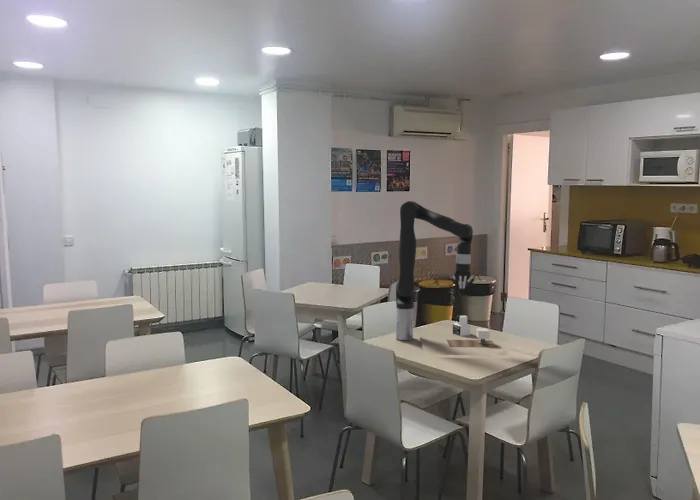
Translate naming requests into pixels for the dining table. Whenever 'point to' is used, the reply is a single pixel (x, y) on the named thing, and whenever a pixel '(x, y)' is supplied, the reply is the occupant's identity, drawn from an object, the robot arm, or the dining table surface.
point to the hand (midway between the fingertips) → (461, 295)
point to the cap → (482, 333)
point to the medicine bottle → (461, 326)
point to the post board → (471, 343)
